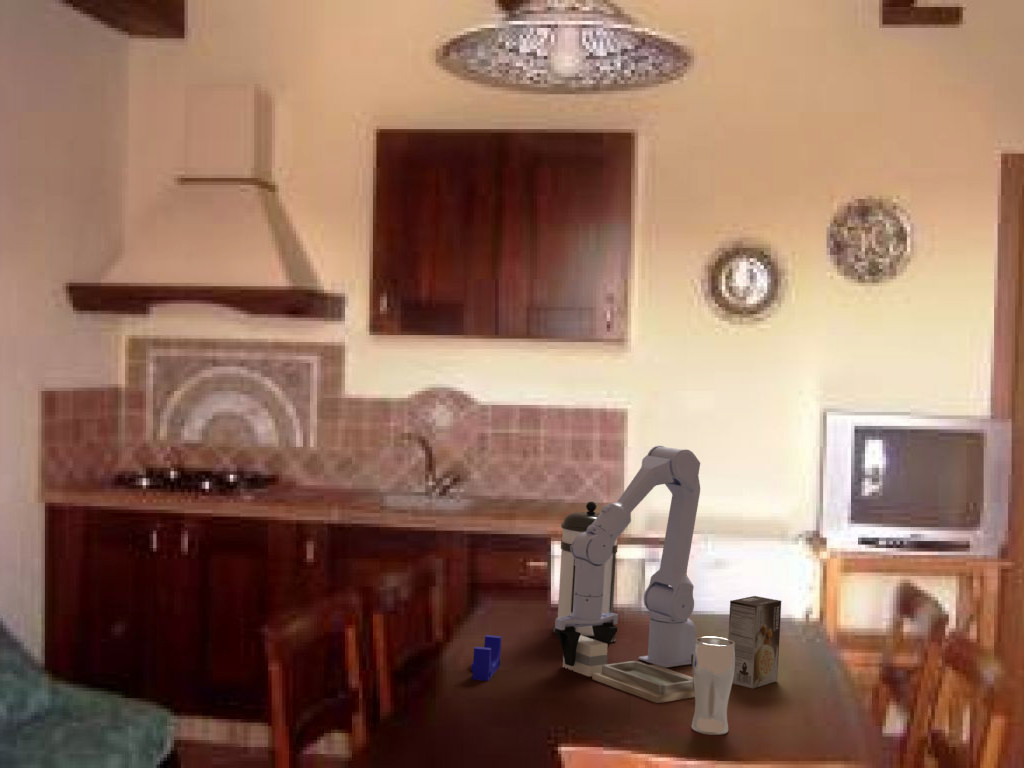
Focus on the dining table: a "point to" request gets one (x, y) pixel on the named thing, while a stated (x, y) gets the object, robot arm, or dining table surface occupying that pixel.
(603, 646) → the cream grey striped block
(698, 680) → the beer glass
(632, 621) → the dining table surface
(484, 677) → the cable clip
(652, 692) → the board
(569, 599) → the coffee press
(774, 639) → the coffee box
